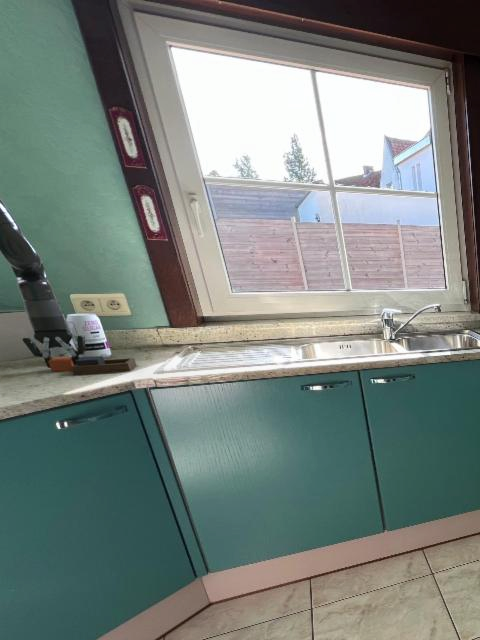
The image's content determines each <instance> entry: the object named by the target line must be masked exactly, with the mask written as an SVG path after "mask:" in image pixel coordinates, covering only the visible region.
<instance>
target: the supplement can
mask: <svg viewBox="0 0 480 640" xmlns="http://www.w3.org/2000/svg"><path fill="white" fill-rule="evenodd" d="M65 321H66V324H67V326H68V329H69V331H70V332H71V333H72V334H73V335H84V336H85V353H83V354H80V355H79V358H81V357H95V356H103V359H107V358H109V357H111V355H112V352H111V349H110V346H109V343H108V339H107V337H106V334H105V331H104V327H103V325H102V322H101V319H100V318H99V317H98V316H97V314H96V313H91V312H90V313H88V312H87V313H86V312H85V313H83V312H82V313H69V314H66V318H65ZM72 340H73V343H74V345H75V348H76V351H78V343H77V342H76V341H75V339H74V338H72Z"/></svg>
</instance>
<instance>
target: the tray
mask: <svg viewBox="0 0 480 640" xmlns="http://www.w3.org/2000/svg"><path fill="white" fill-rule="evenodd" d="M104 362H105V364H101V365H85V366H78V365H77V364H76V365H74V366H72V369H73V371H72V372H73V374H74V376H78V375H79V376H81V375H93V374H94V375H95V374H108V373H109V374H110V373H123V372H131V371H132V370H134V369H135V367H137V363H136V360H135V358H134V357H129V358H113V359H112V358H111V359H104Z"/></svg>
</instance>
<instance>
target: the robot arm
mask: <svg viewBox="0 0 480 640" xmlns="http://www.w3.org/2000/svg"><path fill="white" fill-rule="evenodd" d="M0 254H2V256H3V258H4V259H5V261H6V262H7V263H8V264H9V265H10V268H11V270H12V272H13V275H14V277H15V279H16V284H17V289H18V292H19V294H20V296H21V297H20V298H21V299H22V302H23V306H24V307H23V308H24V310H25V312H26V315H27V318H28V320H29V322H30V325H31V328H32V331H33V332H34V333H33V336H25V337H23V338H22V341H23V343H24V344H25V346H26V347H27V348H28V350H29V351H30V352H31V354H32V355H33V356H34V357H37V358H38V357H39V358H42V359H44V362H45V365H46V367H47V368H48V369H51V367H50V365H49V362H48V361H49V360H51V359H53V358H52V356H51V350H52V348H54V347H63V348H64V349H65V350H66V351H68V352H69V353H70V354H71V356H72V357H71V358H72V360H73V363H74V365H76V364H77V363H76V360H78V359H80V358H81V357H80V356H79V355H80V354H83V353H85V336H84V335H73V334H72V333H71V332H70V329H69V326H68V324H67V321H66V318H65V316H63V315H64V312H63V310H62V308H61V305H60V303H59V301H58V300H57V297H56V295H55V293H54V292H55V291H54V290H53V287H52V285H51V283H50V281H49V280H48V275H47V272H46V269H45V266H44V262H43V260H42V257H41V255H40V254H39V252H37V250H36V249H35V248H34V247H33V245H32V244H31V243H30V241H29V240H28V239H27V237H26V236H25V235H24V233H23V232H22V228H21V226H20V225H19V223H18V222H17V220H16V219H15V217H14V216H13V215H12V213H11V211H10V210H9V208H8V207H7V205H6V204H5V203H4V201H3V200H2V198H1V197H0ZM58 303H59V304H58ZM59 305H60V306H59ZM64 318H65V319H64ZM67 326H68V327H67ZM68 329H69V330H68ZM73 338H74V339H75V341H76V342H77V343H78V351H77V349H76V350H75V349H74V347H73V346H72V345H71V343H70V341H71V339H72V340H73ZM37 341H38V342H39V343H40V344H42V351H41V350H40V348H39V347H38V346H37V344H36V343H37Z"/></svg>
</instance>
